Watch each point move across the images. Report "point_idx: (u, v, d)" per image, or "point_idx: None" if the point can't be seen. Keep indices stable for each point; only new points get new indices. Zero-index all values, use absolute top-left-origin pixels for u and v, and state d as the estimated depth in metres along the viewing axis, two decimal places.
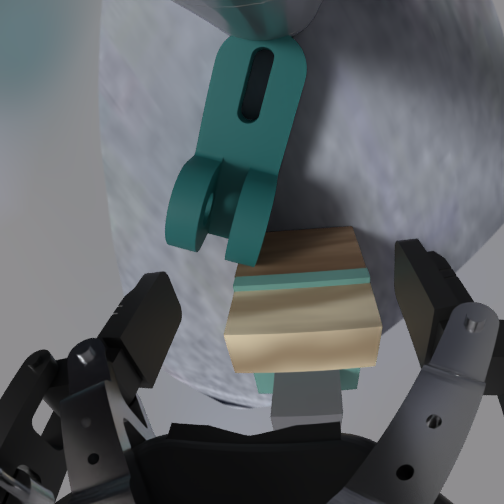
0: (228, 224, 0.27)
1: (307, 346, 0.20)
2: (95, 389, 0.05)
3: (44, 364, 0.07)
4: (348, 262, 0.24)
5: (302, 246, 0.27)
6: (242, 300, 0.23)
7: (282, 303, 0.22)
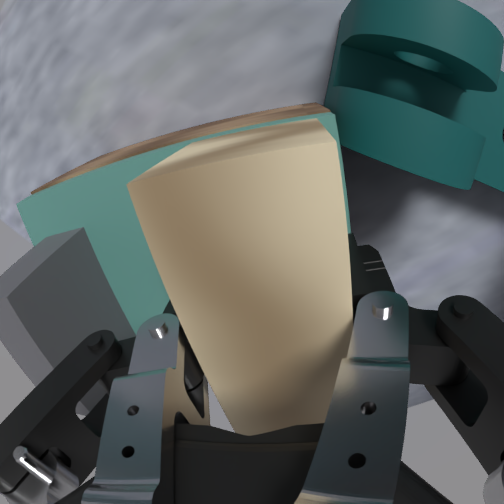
0: (361, 81, 0.13)
1: (302, 364, 0.08)
2: (154, 376, 0.06)
3: (107, 345, 0.08)
4: None
5: None
6: None
7: None
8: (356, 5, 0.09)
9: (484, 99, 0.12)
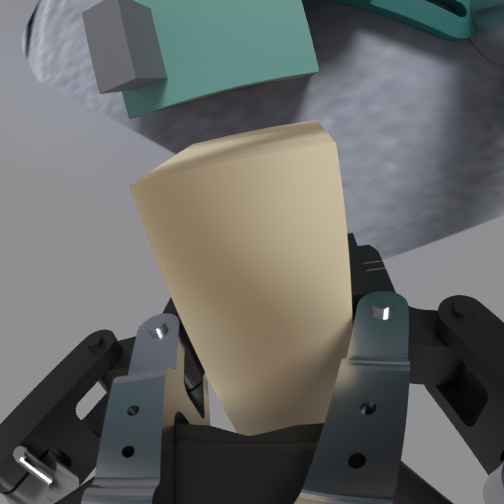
0: None
1: (302, 363, 0.08)
2: (154, 376, 0.06)
3: (107, 345, 0.08)
4: None
5: None
6: None
7: None
8: None
9: None
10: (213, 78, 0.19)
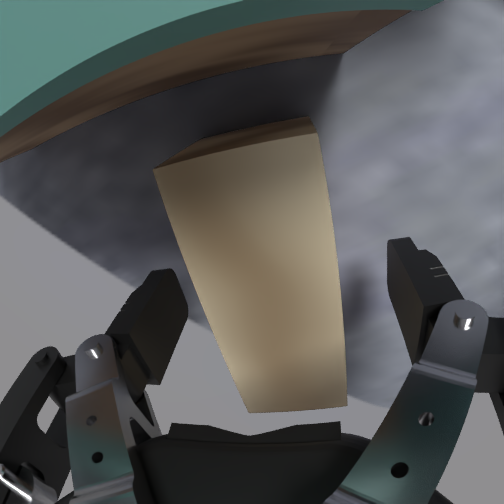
0: None
1: (299, 323, 0.09)
2: (102, 387, 0.05)
3: (51, 361, 0.07)
4: None
5: None
6: None
7: None
8: None
9: None
10: None
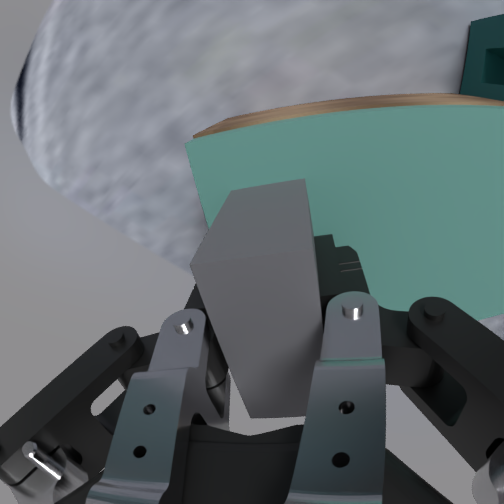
0: (498, 82, 0.12)
1: None
2: (174, 375, 0.06)
3: (130, 341, 0.07)
4: None
5: None
6: None
7: None
8: None
9: None
10: None
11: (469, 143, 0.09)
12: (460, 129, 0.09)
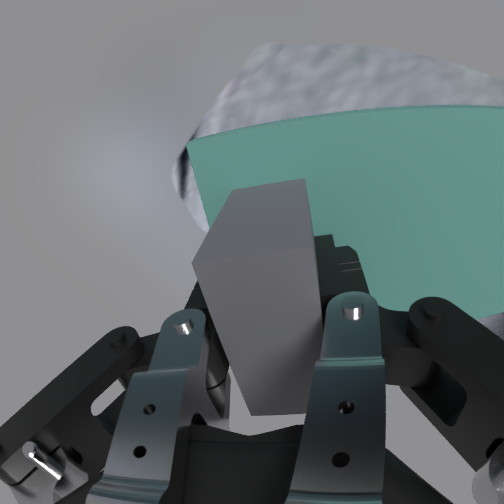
0: None
1: None
2: (174, 375, 0.06)
3: (130, 341, 0.07)
4: None
5: None
6: None
7: None
8: None
9: None
10: None
11: (467, 144, 0.09)
12: (459, 129, 0.09)
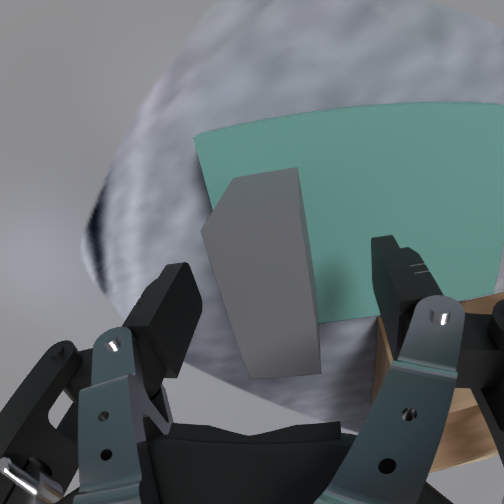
0: None
1: None
2: (117, 382, 0.06)
3: (67, 355, 0.07)
4: None
5: None
6: None
7: None
8: None
9: None
10: None
11: (444, 136, 0.11)
12: (435, 123, 0.10)
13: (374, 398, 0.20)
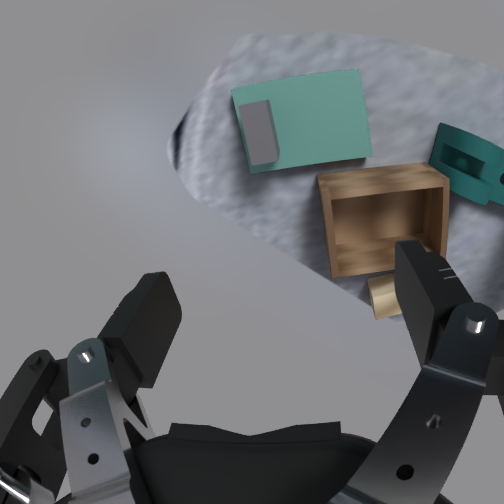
0: (448, 158, 0.31)
1: None
2: (95, 389, 0.05)
3: (44, 364, 0.07)
4: None
5: None
6: (373, 281, 0.42)
7: (393, 278, 0.41)
8: (456, 135, 0.27)
9: None
10: (310, 155, 0.34)
11: (326, 84, 0.30)
12: (322, 80, 0.29)
13: (325, 233, 0.39)
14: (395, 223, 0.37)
